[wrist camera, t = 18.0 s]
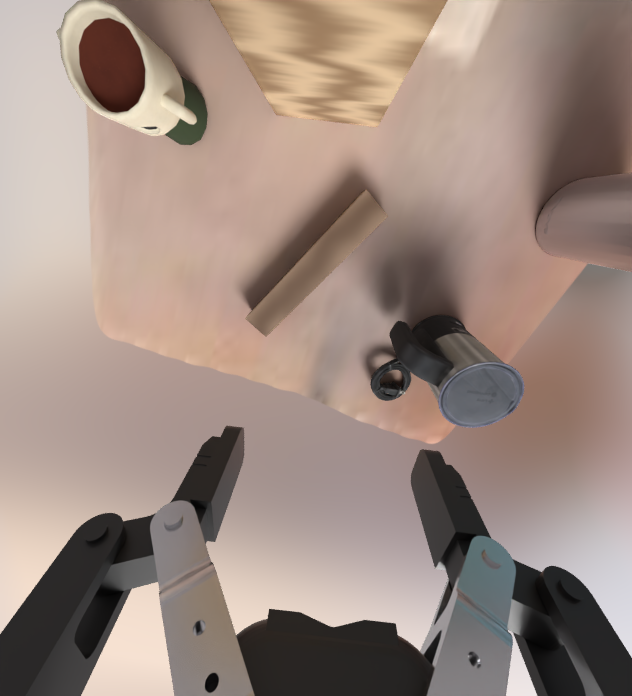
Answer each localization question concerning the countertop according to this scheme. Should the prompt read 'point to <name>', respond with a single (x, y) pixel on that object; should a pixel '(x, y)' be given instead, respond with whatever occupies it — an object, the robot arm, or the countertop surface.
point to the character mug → (128, 74)
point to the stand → (329, 52)
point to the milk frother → (452, 372)
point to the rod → (318, 262)
